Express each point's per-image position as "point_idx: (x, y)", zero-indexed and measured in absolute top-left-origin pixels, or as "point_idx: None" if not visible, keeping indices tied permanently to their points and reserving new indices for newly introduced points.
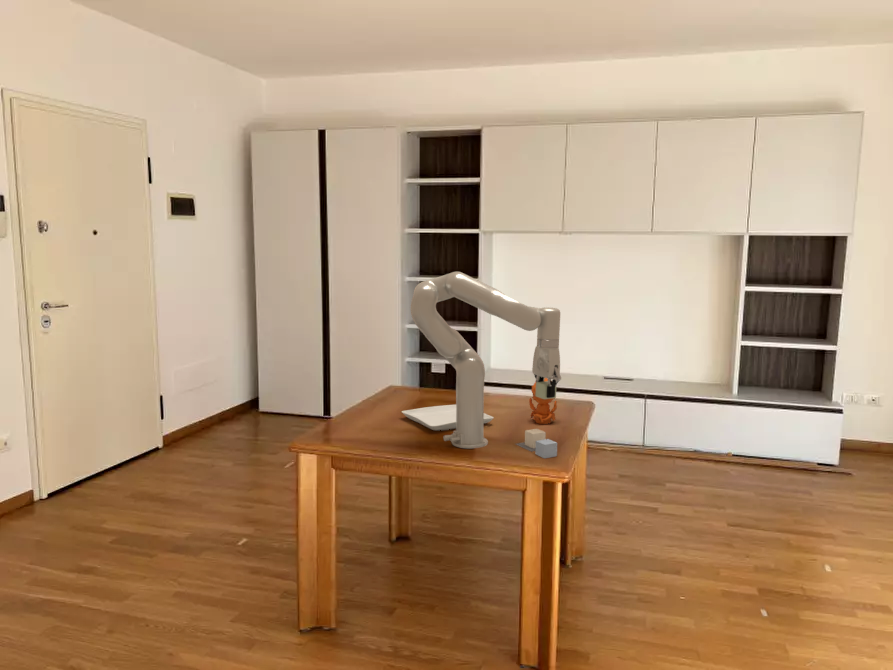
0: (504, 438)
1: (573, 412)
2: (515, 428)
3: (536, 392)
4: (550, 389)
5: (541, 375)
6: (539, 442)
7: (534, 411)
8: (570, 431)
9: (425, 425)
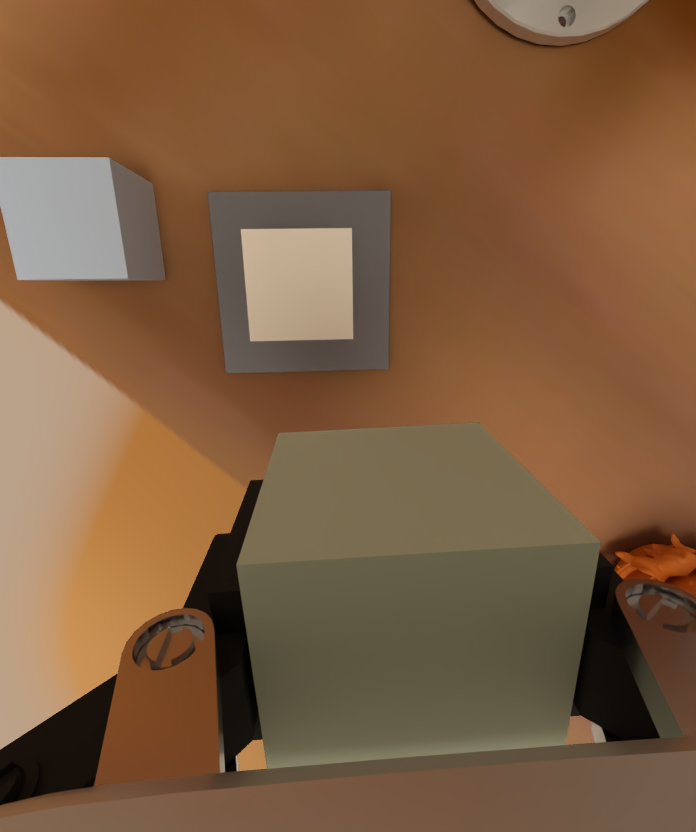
0: (533, 216)
1: None
2: (650, 393)
3: (478, 446)
4: (203, 589)
5: (389, 804)
6: (60, 159)
7: None
8: None
9: None
